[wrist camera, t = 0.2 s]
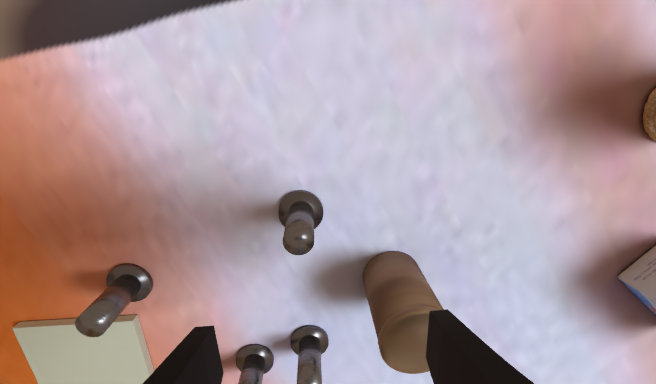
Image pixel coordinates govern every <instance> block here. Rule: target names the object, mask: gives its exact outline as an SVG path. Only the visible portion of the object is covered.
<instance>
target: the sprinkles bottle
mask: <svg viewBox="0 0 656 384" xmlns="http://www.w3.org/2000/svg"><path fill="white" fill-rule="evenodd" d="M643 126H644V128H645V131H646V132H647V133H648V134H649V136H650V137H651V138H652V139H653V140H655V141H656V88H655V89H654V90H653V91H652V93H651V94H650V95H649V97H648V101H647V103H646V104H645V108H644V112H643Z"/></svg>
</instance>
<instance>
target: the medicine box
mask: <svg viewBox="0 0 656 384" xmlns="http://www.w3.org/2000/svg"><path fill="white" fill-rule="evenodd" d="M618 278H619V280H620V281H622V282H623V283H624V284H625V285H626V286H627V287H628V288H629V289H630V290H631V291H632V292H633V293H634V294H635V295H636V296H637V297H638V298H639V299H640V300H641V301H642V302H643V303H644V304H645V305H646V306H647V307H648V308H649V309H650V310H651V311H652V312H653V313H654V314H655V315H656V245H655V246H654V247H652V248H651V249H650V250H649V251H648V252H646V253H645V254H644V255H643V256H641V257H640V258H639V259H638V260H636V261H635V262H634V263H633V264H632V265H631V266H629V267H628V268H627V269H626V270H624V271H623V272H622V273H620V274H619V275H618Z"/></svg>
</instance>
